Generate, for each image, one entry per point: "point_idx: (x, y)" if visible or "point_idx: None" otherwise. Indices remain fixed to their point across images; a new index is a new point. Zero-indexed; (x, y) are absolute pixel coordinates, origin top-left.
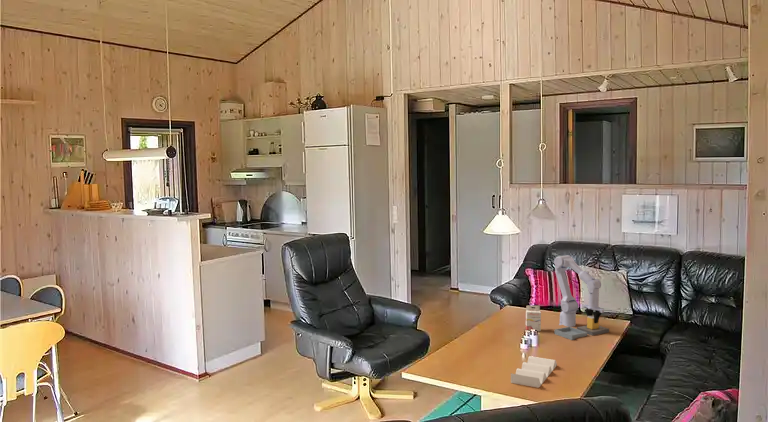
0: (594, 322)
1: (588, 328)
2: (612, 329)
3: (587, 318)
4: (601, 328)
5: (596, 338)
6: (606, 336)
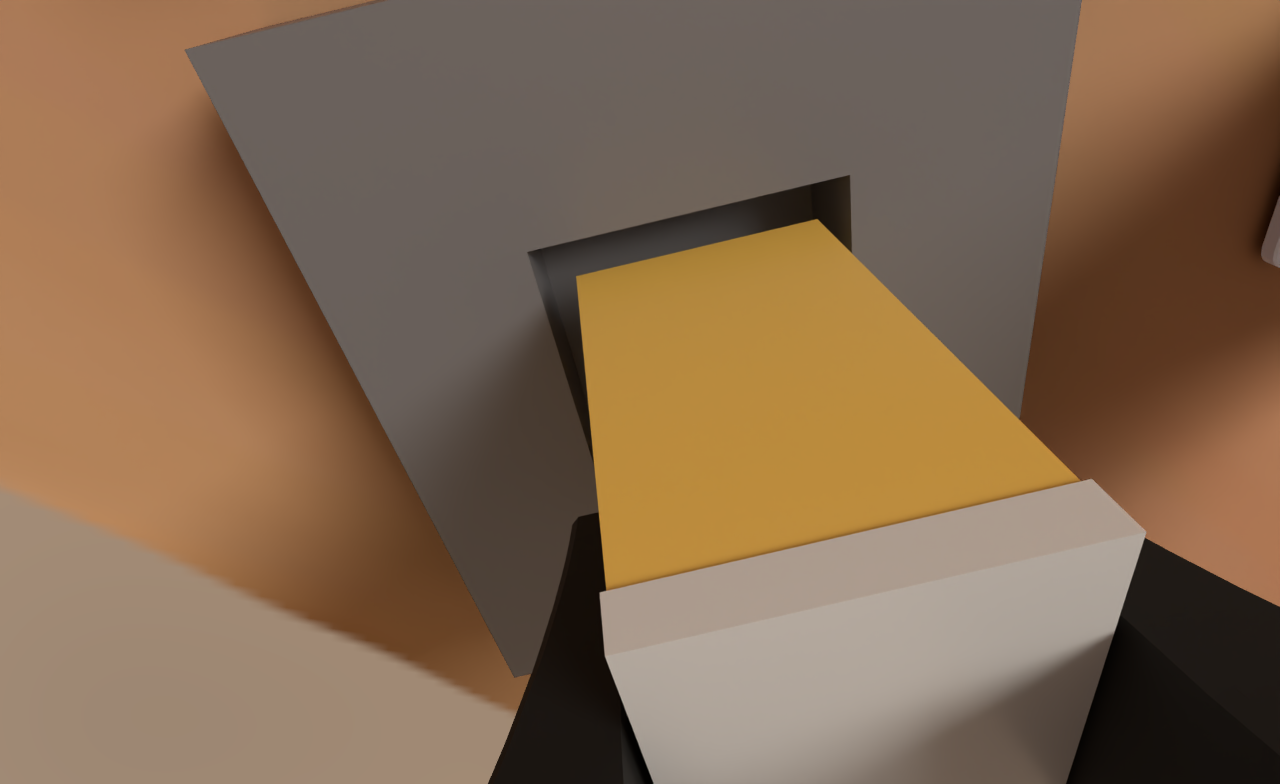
0: None
1: None
2: None
3: (1012, 433)
4: None
5: (43, 57)
6: (287, 444)
